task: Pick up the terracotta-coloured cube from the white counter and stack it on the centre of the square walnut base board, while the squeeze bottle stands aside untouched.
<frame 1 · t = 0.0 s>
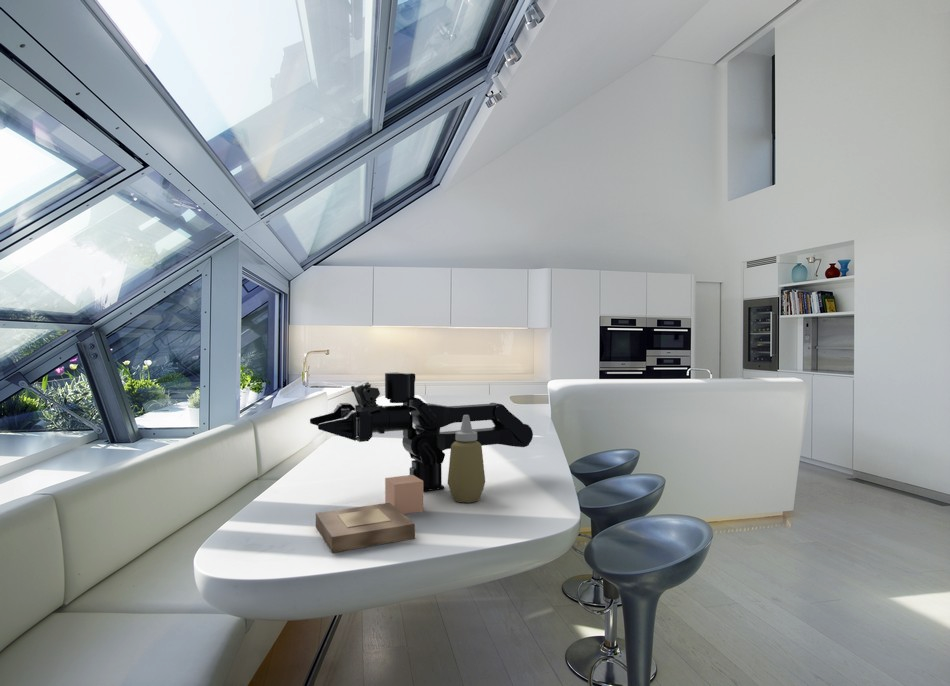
hand: (314, 423, 115), 17 cm above the countertop, tool horizontal, fingers open, 9 cm apart
base board: (363, 532, 96), on the countertop
cube: (404, 509, 110), on the countertop
squeeze bottle: (466, 500, 117), on the countertop
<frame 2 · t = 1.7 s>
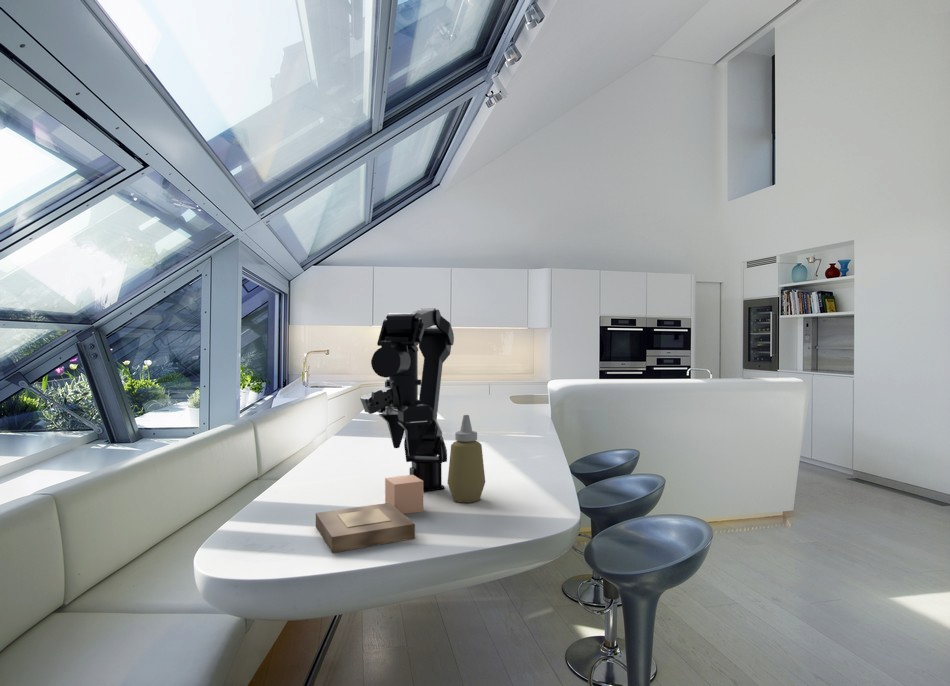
hand: (403, 451, 110), 11 cm above the countertop, tool pointing down, fingers open, 9 cm apart
nothing on the countertop moved.
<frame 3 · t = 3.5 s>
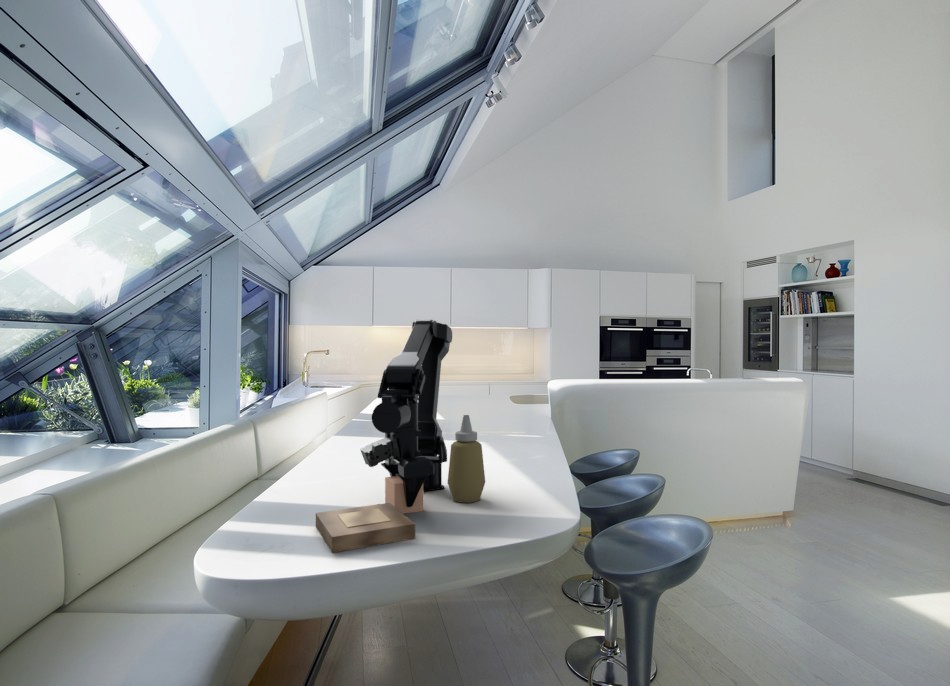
hand: (404, 502, 110), 1 cm above the countertop, tool pointing down, fingers closed on cube, 6 cm apart
cube: (404, 508, 110), on the countertop, touching gripper
everything else where it was.
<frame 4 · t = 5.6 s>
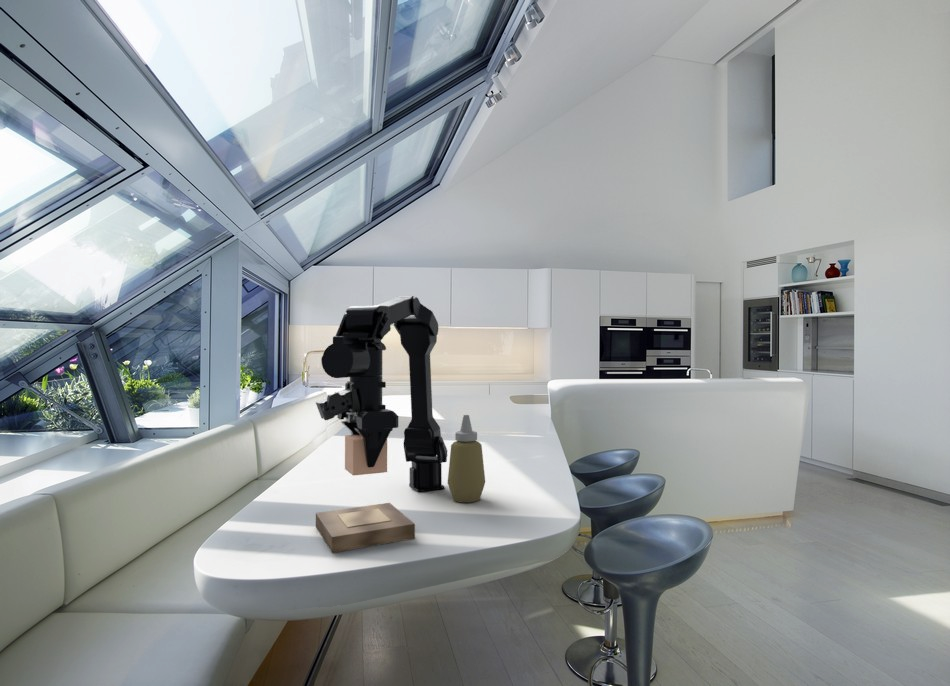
hand: (365, 463, 97), 12 cm above the countertop, tool pointing down, fingers closed on cube, 6 cm apart
cube: (365, 470, 97), point 11 cm above the countertop, touching gripper
everything else where it was.
when the fingers open (5 cm above the countertop, at t = 7.7 s): cube drops 1 cm, resting on base board.
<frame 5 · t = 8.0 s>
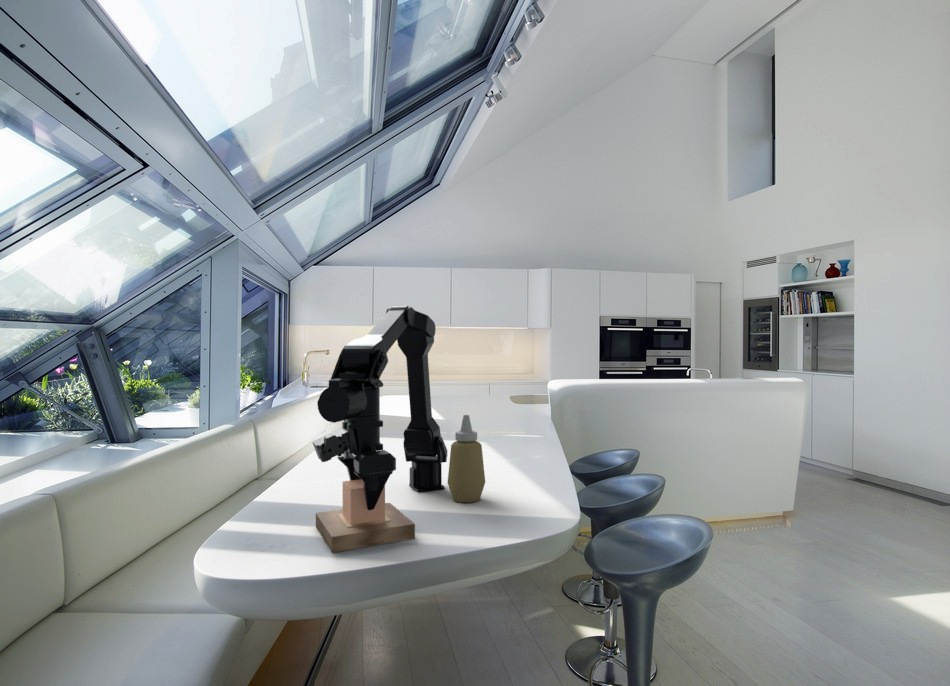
hand: (363, 502, 97), 5 cm above the countertop, tool pointing down, fingers open, 9 cm apart
cube: (363, 517, 97), point 3 cm above the countertop, touching base board
everything else where it was.
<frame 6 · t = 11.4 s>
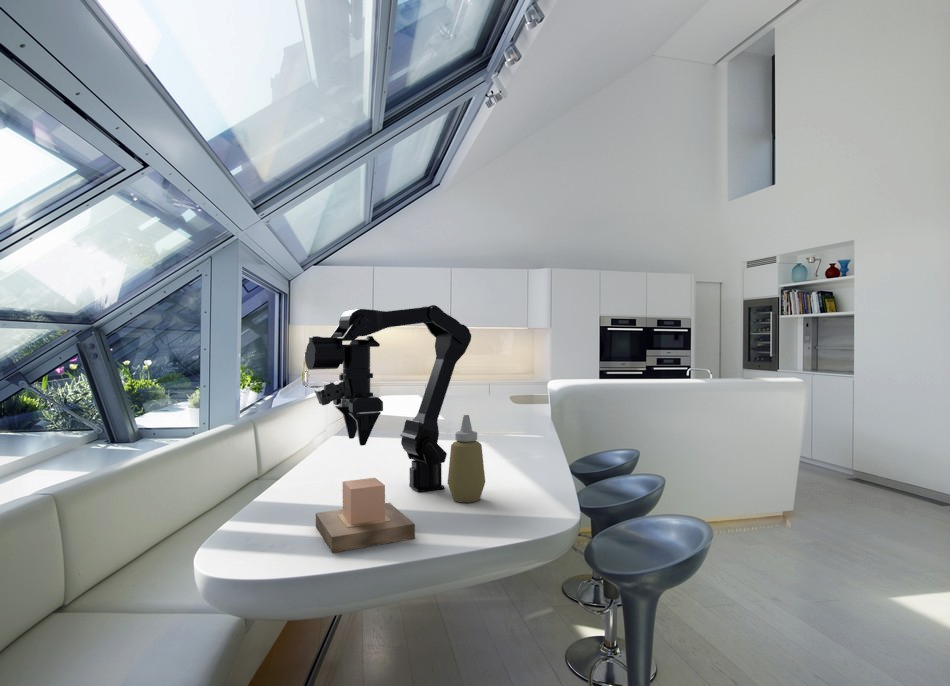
hand: (356, 441, 116), 13 cm above the countertop, tool pointing down, fingers open, 9 cm apart
nothing on the countertop moved.
at the end: cube inside the target area on the base board (0.1 cm from its centre), point 2.6 cm above the base board's base; cube tilted 0°; the gripper is holding nothing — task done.
